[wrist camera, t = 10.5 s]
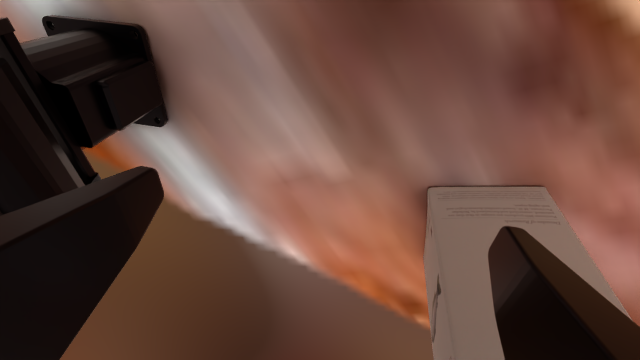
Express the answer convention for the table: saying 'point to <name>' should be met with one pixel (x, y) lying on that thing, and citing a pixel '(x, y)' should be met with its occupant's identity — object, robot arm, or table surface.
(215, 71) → the table surface
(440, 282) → the supplement box
